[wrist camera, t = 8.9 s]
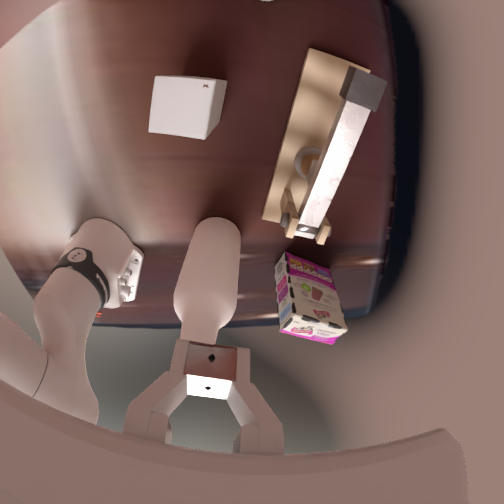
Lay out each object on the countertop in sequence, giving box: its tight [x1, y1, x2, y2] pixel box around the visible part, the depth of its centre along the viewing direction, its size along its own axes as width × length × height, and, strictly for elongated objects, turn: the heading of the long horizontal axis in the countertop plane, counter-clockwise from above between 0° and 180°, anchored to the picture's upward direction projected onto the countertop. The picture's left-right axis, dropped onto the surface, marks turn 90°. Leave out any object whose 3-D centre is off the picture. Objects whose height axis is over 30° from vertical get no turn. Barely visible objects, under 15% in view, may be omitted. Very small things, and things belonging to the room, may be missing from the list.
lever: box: [294, 66, 387, 239], centre depth 32 cm, size 24×4×5 cm, turn 168°
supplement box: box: [148, 76, 227, 140], centre depth 32 cm, size 7×7×13 cm
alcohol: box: [174, 217, 241, 344], centre depth 39 cm, size 9×9×30 cm
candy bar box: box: [274, 252, 348, 344], centre depth 49 cm, size 11×5×16 cm, turn 65°
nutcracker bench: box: [262, 48, 370, 245], centre depth 36 cm, size 30×10×12 cm, turn 167°
